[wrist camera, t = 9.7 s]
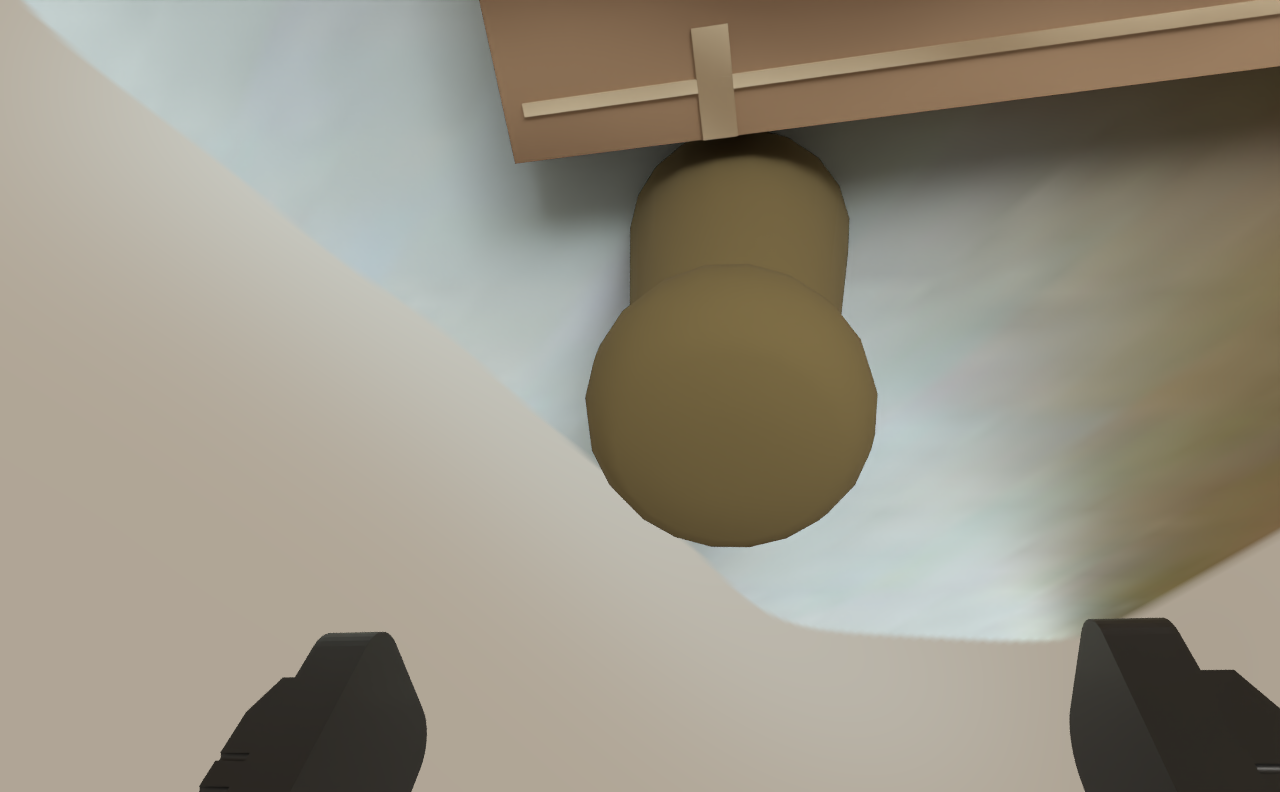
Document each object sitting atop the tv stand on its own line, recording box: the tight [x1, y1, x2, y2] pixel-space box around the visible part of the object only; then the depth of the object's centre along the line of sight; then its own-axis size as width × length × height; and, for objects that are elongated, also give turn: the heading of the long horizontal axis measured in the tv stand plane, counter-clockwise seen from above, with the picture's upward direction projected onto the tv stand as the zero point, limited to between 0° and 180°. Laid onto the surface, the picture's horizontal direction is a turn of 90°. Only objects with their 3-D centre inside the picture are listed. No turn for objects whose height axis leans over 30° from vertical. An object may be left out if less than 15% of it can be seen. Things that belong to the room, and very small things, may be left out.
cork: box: [585, 132, 877, 547], centre depth 18 cm, size 6×6×11 cm
